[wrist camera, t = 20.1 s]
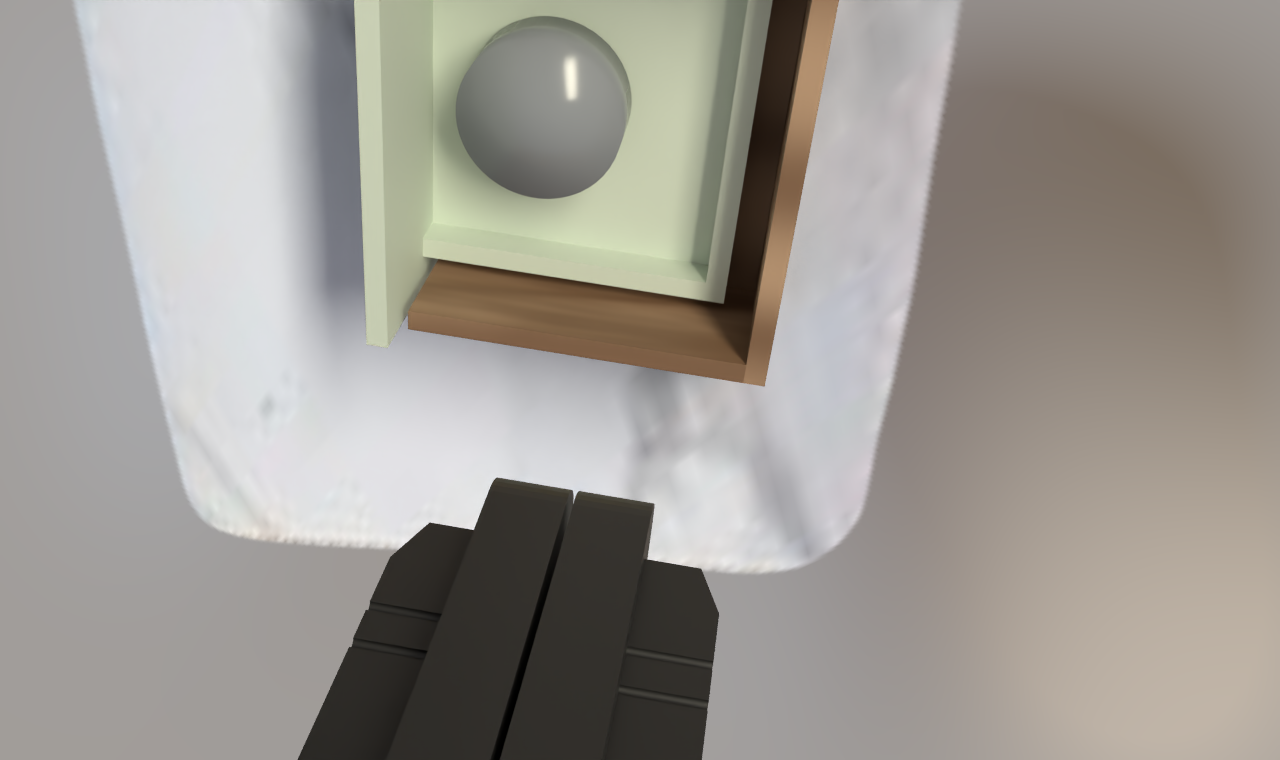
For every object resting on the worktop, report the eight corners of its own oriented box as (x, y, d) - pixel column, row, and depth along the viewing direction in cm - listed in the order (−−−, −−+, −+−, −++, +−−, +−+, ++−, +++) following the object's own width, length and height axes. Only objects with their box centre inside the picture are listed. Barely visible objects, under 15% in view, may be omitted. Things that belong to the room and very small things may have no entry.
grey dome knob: (644, 35, 43) (635, 59, 41) (617, 185, 46) (607, 214, 44) (479, 0, 43) (462, 22, 41) (465, 152, 46) (449, 179, 44)
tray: (418, -178, 41) (348, -136, 35) (792, -127, 40) (784, -76, 34) (421, 255, 50) (366, 344, 45) (723, 303, 50) (708, 399, 44)
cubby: (454, -172, 41) (402, -136, 36) (851, -118, 40) (853, -74, 35) (450, 254, 51) (408, 329, 46) (772, 305, 50) (764, 386, 45)
